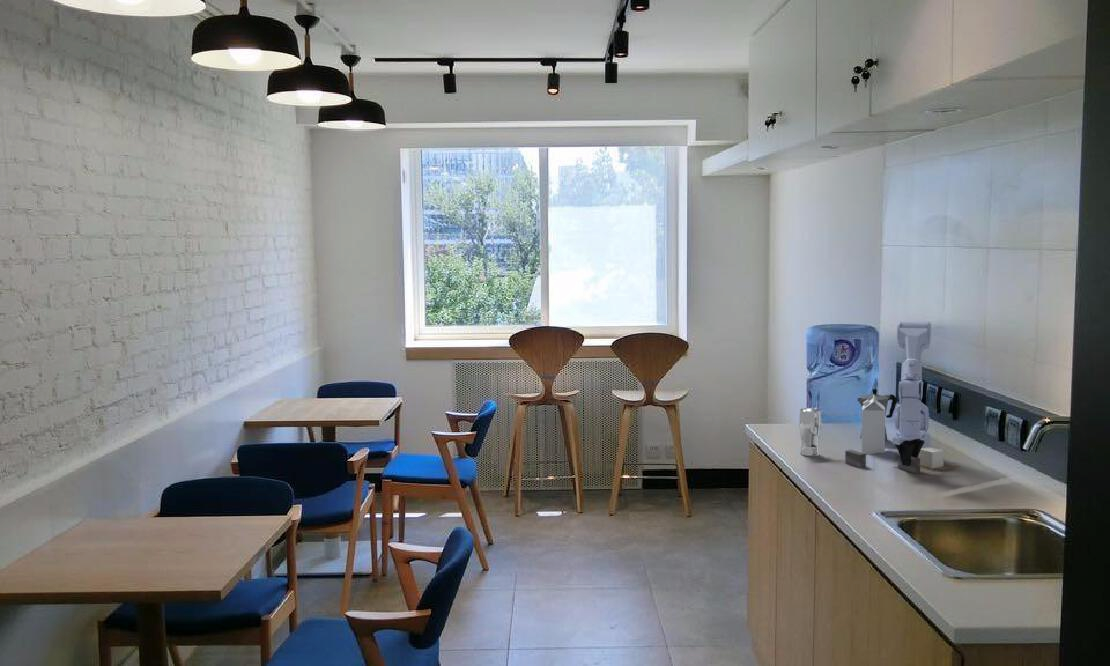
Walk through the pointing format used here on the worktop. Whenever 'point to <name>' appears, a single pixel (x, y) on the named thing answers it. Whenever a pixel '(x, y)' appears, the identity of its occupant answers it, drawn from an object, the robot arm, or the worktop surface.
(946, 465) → the walnut strip
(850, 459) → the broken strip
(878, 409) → the milk carton
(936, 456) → the ceramic block
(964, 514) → the worktop surface
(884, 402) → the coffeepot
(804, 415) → the silver drinking tumbler
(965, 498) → the worktop surface
